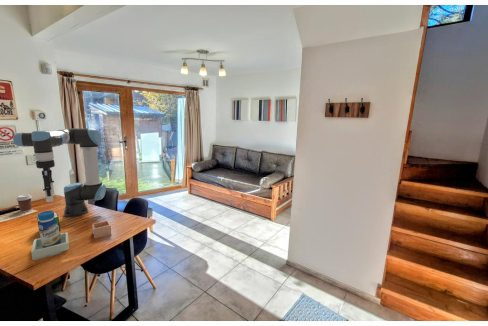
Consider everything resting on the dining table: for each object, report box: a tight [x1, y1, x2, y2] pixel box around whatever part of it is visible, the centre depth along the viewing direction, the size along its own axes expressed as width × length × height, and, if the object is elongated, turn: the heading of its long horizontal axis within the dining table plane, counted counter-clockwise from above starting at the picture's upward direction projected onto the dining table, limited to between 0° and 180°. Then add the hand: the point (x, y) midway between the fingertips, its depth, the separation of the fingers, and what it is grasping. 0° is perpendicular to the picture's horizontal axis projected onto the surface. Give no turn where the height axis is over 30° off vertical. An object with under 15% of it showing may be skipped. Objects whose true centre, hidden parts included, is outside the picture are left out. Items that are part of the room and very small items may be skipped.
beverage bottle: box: [37, 210, 61, 248], centre depth 129 cm, size 8×8×20 cm
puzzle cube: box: [36, 212, 61, 232], centre depth 149 cm, size 10×10×10 cm
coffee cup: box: [15, 193, 33, 213], centre depth 180 cm, size 9×9×12 cm
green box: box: [31, 232, 70, 261], centre depth 129 cm, size 15×15×5 cm
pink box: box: [91, 219, 112, 239], centre depth 146 cm, size 9×9×7 cm
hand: (50, 197), depth 128 cm, fingers open, 13 cm apart
